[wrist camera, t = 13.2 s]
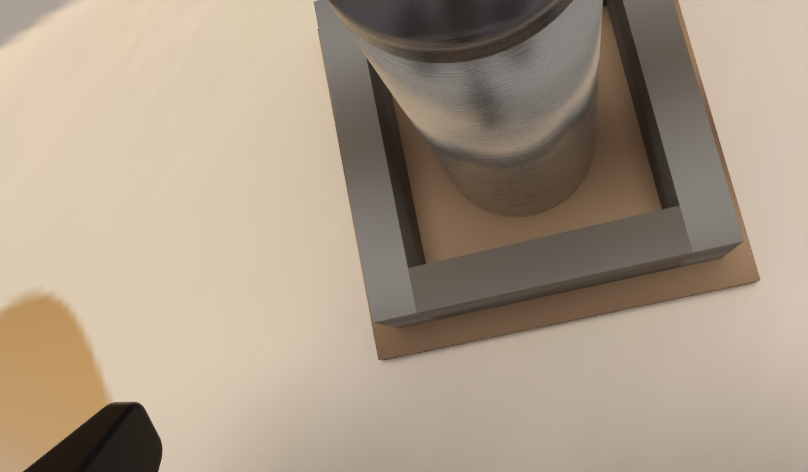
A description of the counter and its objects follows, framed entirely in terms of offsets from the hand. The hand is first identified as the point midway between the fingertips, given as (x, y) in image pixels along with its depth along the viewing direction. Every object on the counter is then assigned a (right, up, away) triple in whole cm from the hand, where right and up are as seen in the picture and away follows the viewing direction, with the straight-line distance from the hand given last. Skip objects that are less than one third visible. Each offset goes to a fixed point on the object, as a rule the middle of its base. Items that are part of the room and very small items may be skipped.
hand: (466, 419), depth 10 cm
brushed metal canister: (+3, +5, +13) cm, 15 cm away
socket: (+3, +5, +14) cm, 15 cm away
